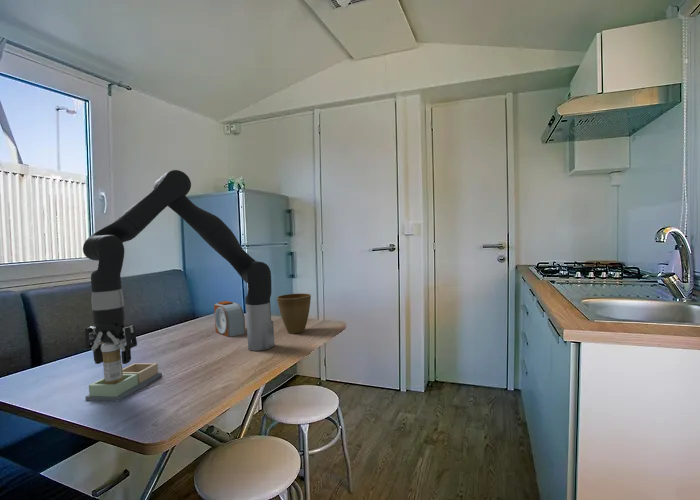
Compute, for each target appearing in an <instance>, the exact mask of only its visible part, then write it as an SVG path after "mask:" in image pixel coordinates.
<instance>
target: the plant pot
mask: <svg viewBox="0 0 700 500" xmlns="http://www.w3.org/2000/svg"><path fill="white" fill-rule="evenodd" d="M311 298H312V294H310V293H300V292H299V293H289V294H283V295H278V296H277V297H276V300H277V305H278V309H279V310H278V311H279V313H280V316H281V319H282V322H283V324H284V327H285V329H286V331H287V333H288V334H294V333H295V334H301V333H303V331H304V332H305V330H306V326H307V323H308V318H309V314H310V309H311V308H310V307H311ZM295 334H294V335H295Z"/></svg>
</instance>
